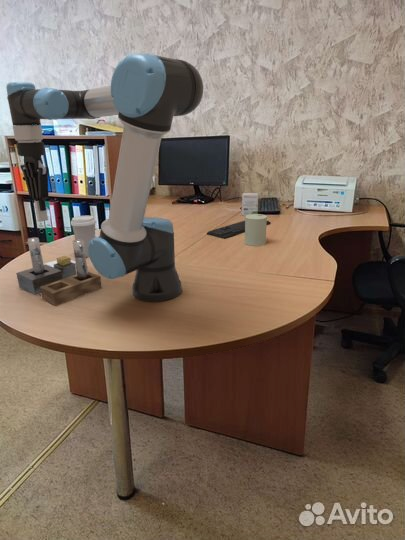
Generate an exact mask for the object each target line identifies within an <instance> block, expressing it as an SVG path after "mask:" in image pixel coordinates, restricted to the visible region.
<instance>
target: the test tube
mask: <svg viewBox="0 0 405 540" xmlns="http://www.w3.org/2000/svg"><path fill="white" fill-rule="evenodd" d="M72 248H73V253H74V261H75V262H76V265H75V267H76V274H77V276H78V280H79V281H83V280H86V279H88V272H89V271H88V266H87V265H88V263H87V257H86V256H85V248H84V240H83V239H76V240H75V239H73V240H72Z"/></svg>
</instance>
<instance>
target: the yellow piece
mask: <svg viewBox="0 0 405 540" xmlns="http://www.w3.org/2000/svg"><path fill="white" fill-rule="evenodd" d="M56 260H57V265H58V266H61V267H64V266H67V265H70V264H71V260H72V259H71V257H69V256H67V255H63V256H59V257H56Z"/></svg>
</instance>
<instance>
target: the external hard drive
mask: <svg viewBox="0 0 405 540" xmlns="http://www.w3.org/2000/svg"><path fill="white" fill-rule="evenodd" d="M71 262H72V263H75V266H76V262H75V260H72V259H71ZM45 264H46V265H49V266H51V267H54V264H57V259H56V260H53V261H48V262H45V263H43V265H45Z"/></svg>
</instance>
